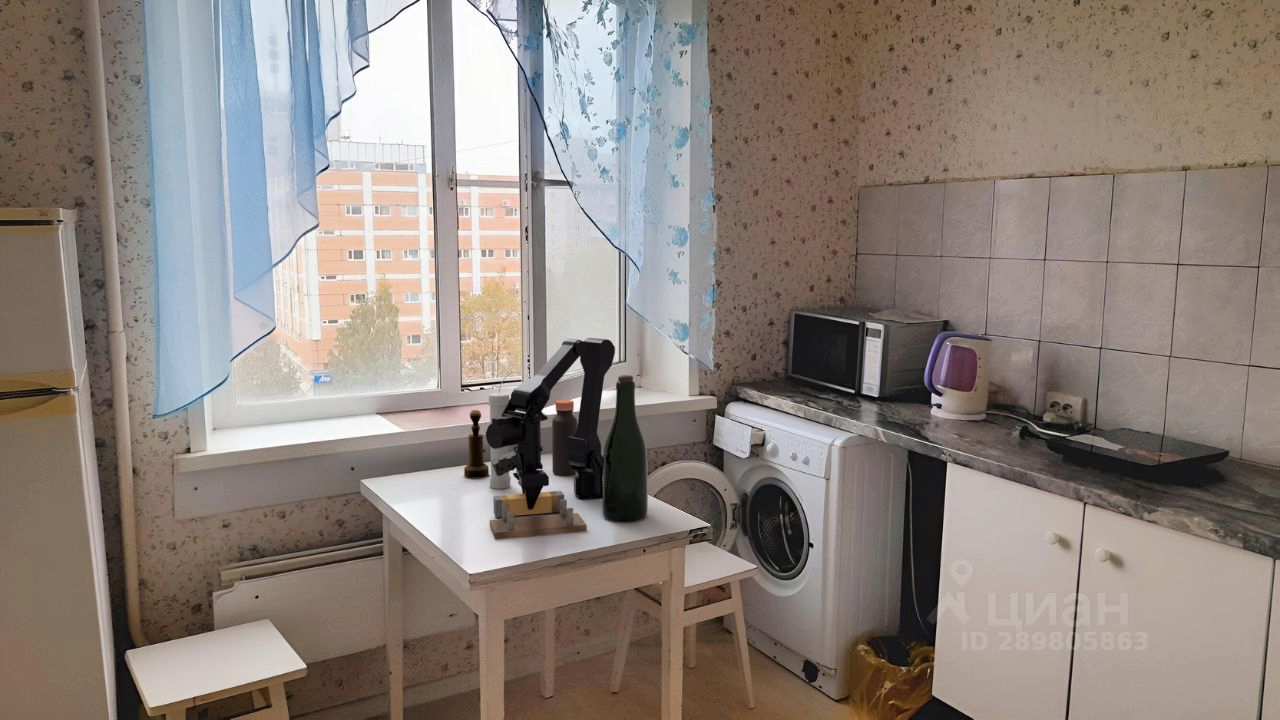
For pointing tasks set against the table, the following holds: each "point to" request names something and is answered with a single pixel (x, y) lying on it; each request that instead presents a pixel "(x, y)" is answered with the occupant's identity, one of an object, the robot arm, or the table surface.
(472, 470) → the pepper mill
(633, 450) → the green wine bottle
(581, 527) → the rack
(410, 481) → the table surface
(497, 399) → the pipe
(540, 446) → the robot arm
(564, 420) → the vinegar
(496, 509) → the bar
